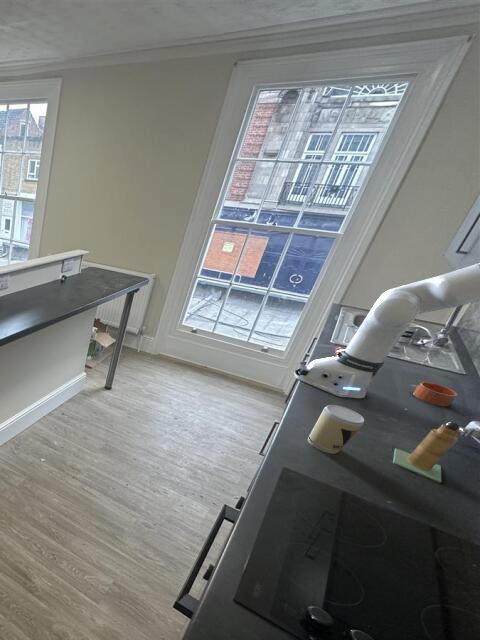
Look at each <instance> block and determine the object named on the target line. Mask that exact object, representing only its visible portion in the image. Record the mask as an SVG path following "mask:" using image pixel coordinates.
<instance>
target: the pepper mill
mask: <svg viewBox="0 0 480 640" xmlns="http://www.w3.org/2000/svg"><path fill="white" fill-rule="evenodd" d="M459 428H461V427H460V424H459V423H457V422H455V421H448V422H446V423H442V424H441V425H440V426H439V427H438V428H432V429H431V430H430V431H429V433H428V434H427V435H426V436H425V437H424V438H423V439H422V441H421V442H420V443H419V444H418V445H417V446H416V447H415V449H413V451H411V453H410V456H409V457H408V458H407V461H408V462H409V463H410V464H411V465H413V466H415V467H417V468H419V469H422V470H431V469H432V467H433V466H434V465H435V464H438V463H439V461H440V460H441V459H443V457H444V456H445V455H446V454H447V453H448V451H450V450H451V448H452V447H453V446H454V445H456V443H457V442H458V441H459V439H458V438H457V436H458V435H459V432H460V430H459Z"/></svg>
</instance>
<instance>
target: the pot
mask: <svg viewBox="0 0 480 640" xmlns="http://www.w3.org/2000/svg"><path fill="white" fill-rule="evenodd" d="M412 394H413V395H414V396H415V397H416V398H418V399H420V400H421V401H424V402H426V403H429V404H432V405H436V406H440V407H449V406H450V405H451V404H452V402H453V401H454V400H455V399H456V398H457V397H458V396H459V394H458V393H457V392H456V391H455V390H453V389H451V388H449V387H446V386H444V385H441V384H438V383H433V382H430V381H421V382H420V383H419V384H418V386H417V387H416V388H415V390H413V391H412Z"/></svg>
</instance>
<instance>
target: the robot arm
mask: <svg viewBox="0 0 480 640" xmlns="http://www.w3.org/2000/svg"><path fill="white" fill-rule="evenodd" d="M476 302H480V262H479V263H475V264H471V265H469V266H466V267H463V268H460V269H456V270H453V271H450V272H447V273H444V274H440V275H437V276H433V277H429V278H426V279H423V280H418V281H415V282H410V283H407V284H404V285H401V286H400V285H399V286H397V287H394V288H390V289H387V290H386V291H385V292H383V293H382V294H381V295H380V296H379V297H378V299H376V301H375V302H374V304H373V306H372V307H371V309H370V310H369V312H368V314H367V315H366V317H365V318H364V320H363V321H362V323H361V324H360V326H359V327H358V329H357V331H356V332H355V334H354V336H352V338H351V340H350V341H349V343H348V344H347V346H346V348H344V349H343V347H342V346H338V347H336V348H335V350H334V351H335V353H334V354H333V356H330V357H323V358H318V359H314V360H312V361H310V362H309V363H308V364H307V365H302V364H300V365H299V367H298V368H297V369H296V370H295V371H294V373H293V376H294V378H296V380H298V381H300V382H302V383H306V384H308V385H311V386H312V387H315V388H317V389H319V390H322V391H324V392H327V393H329V394H331V395H334V396H336V397H339V398H352V399H364V398H366V396H367V391H368V389H369V386H370V384H371V382H372V380H373V378H374V377H375V376H376V375H377V374H378V373H379V372H380V370H381V369H382V368H383V366H384V363H385V360H386V358H387V357H388V356H389V354H390V353H391V351H392V350H393V349H394V347H395V346H396V344H397V343H398V342H399V341H400V339H401V338H402V336H403V335H404V334H405V332H407V330H408V329H409V328H410V326H411V325H412V323H413V322H414V321H415V319H416V318H417V317H418V315H422V314H426V313H430V312H431V313H432V312H435V311H441V310H446V309H452V308H458V307H462V306H465V305H468V304H471V303H472V304H473V303H476ZM459 430H460V432H459V434H458V435H459V436H461V437H468V436H470V437H471V438H472V439H474V440H475V441H476V442H478V443H479V444H480V421H477V420H473V421H470V422H469V423H468V424H467V425H466V426H465V427H460V428H459Z"/></svg>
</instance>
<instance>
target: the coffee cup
mask: <svg viewBox="0 0 480 640" xmlns="http://www.w3.org/2000/svg"><path fill="white" fill-rule="evenodd" d="M364 424H365V418H364V417H363V415H361V414H360V413H358V412H357V411H355V410H353V409H351V408H348V407H345V406H342V405H338V404H328V405H326V406H325V407H323V410H322V411H321V413H320V415H319V417H318V419H317V421H316V422H315V425H313V428H312V430H311V432H310V433H309V435H308V437H307V442H308V443H309V445H311V446H312V448H315V449H316V450H318V451H321V452H324V453H327V454H332V455H333V454H337V453H339V452H340V451H341V450H342V449H343V447H344V446H345V445H346V444H347V443H348V442H349V441H350V440H351V439H352V437H353V436H354V435H355V434H356V433H357V432H358V431H359V430H360V429H361V427H363V426H364ZM309 437H310V439H311V440H312V441H314V442H315V443H317V444H319V445H321V446H323V447H325V448H328V449H332V450H340V449H341V450H340V451H329V450H326V449H323V448H321V447H319V446H317V445H315V444H314V443H313V442H311V441H310V439H309Z"/></svg>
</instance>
